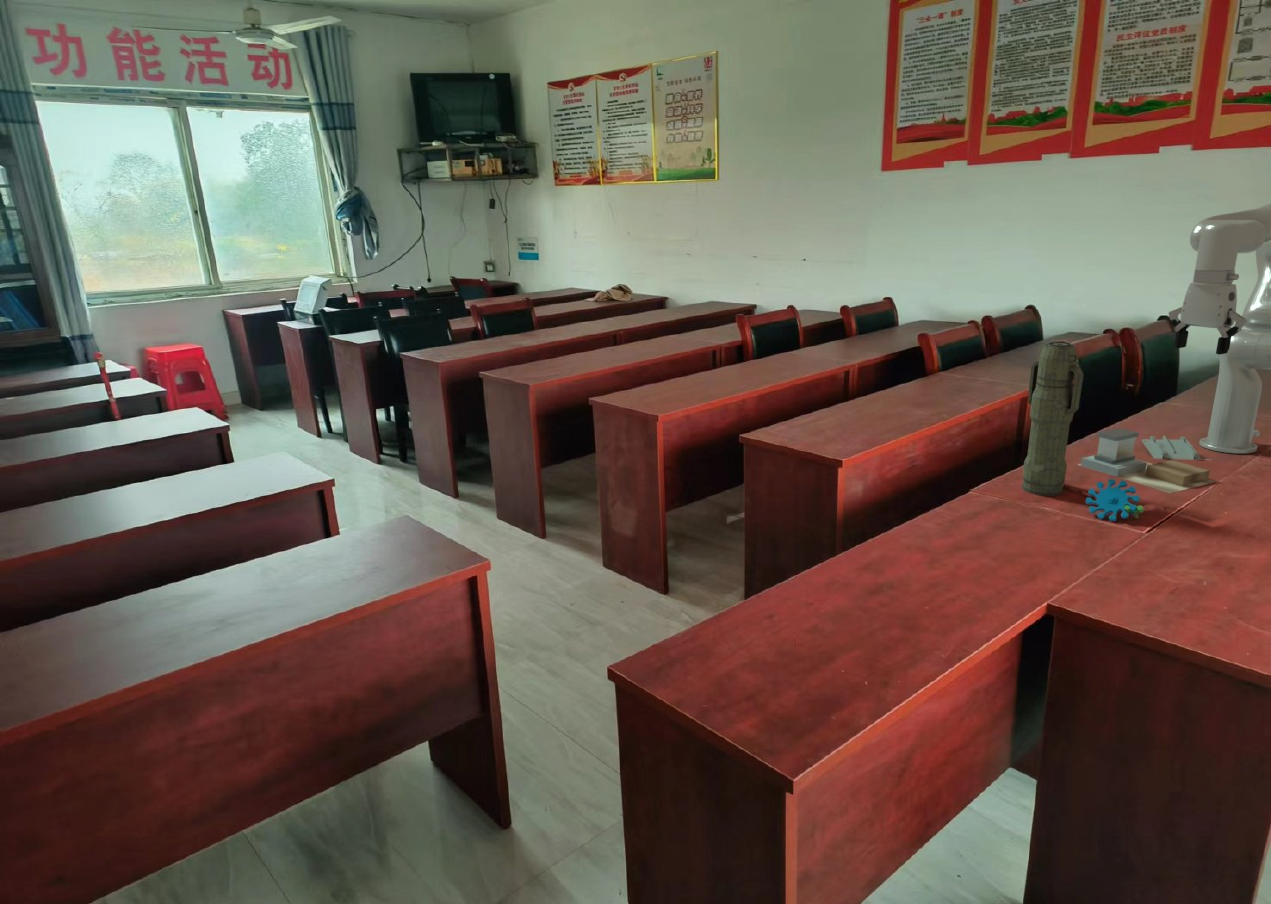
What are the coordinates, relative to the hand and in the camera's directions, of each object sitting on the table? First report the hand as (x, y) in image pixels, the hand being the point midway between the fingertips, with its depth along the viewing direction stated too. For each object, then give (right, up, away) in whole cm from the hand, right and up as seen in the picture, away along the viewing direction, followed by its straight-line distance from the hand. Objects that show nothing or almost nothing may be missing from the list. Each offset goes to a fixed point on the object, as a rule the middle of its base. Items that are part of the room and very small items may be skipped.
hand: (1200, 350), depth 189 cm
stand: (-5, -30, +1) cm, 31 cm away
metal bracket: (+5, -27, +18) cm, 32 cm away
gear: (-31, -39, -17) cm, 53 cm away
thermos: (-38, -33, 0) cm, 50 cm away
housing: (-15, -26, +9) cm, 32 cm away
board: (-10, -30, +5) cm, 32 cm away
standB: (-15, -28, +9) cm, 33 cm away
